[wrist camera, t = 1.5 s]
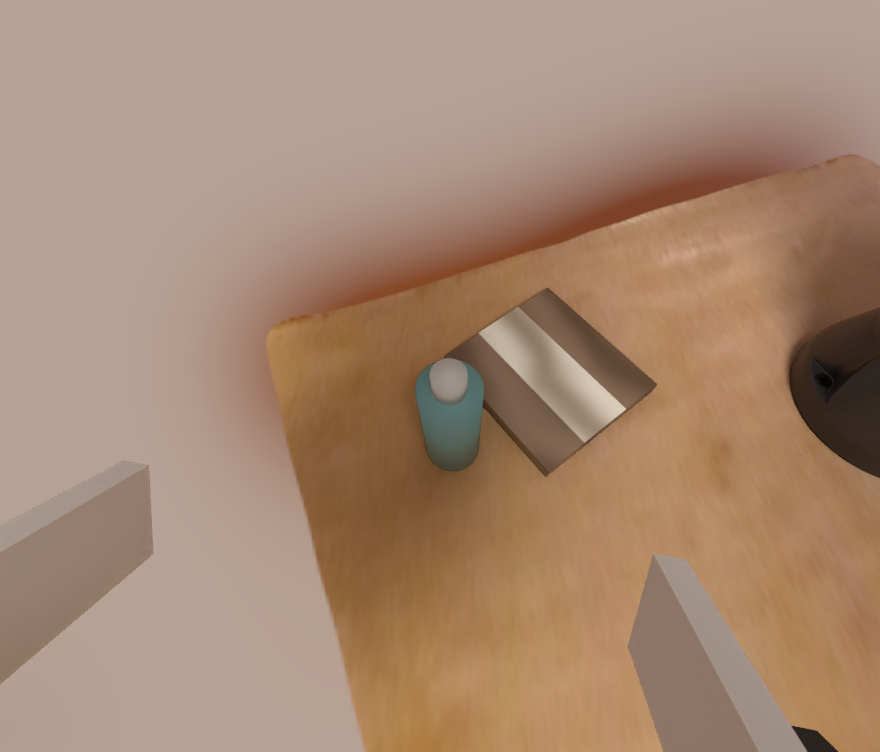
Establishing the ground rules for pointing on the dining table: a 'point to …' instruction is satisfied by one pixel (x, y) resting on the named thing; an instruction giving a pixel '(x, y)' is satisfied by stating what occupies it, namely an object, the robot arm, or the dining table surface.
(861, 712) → the dining table surface
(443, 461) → the teal bottle with cap
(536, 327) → the brown cream striped panel
